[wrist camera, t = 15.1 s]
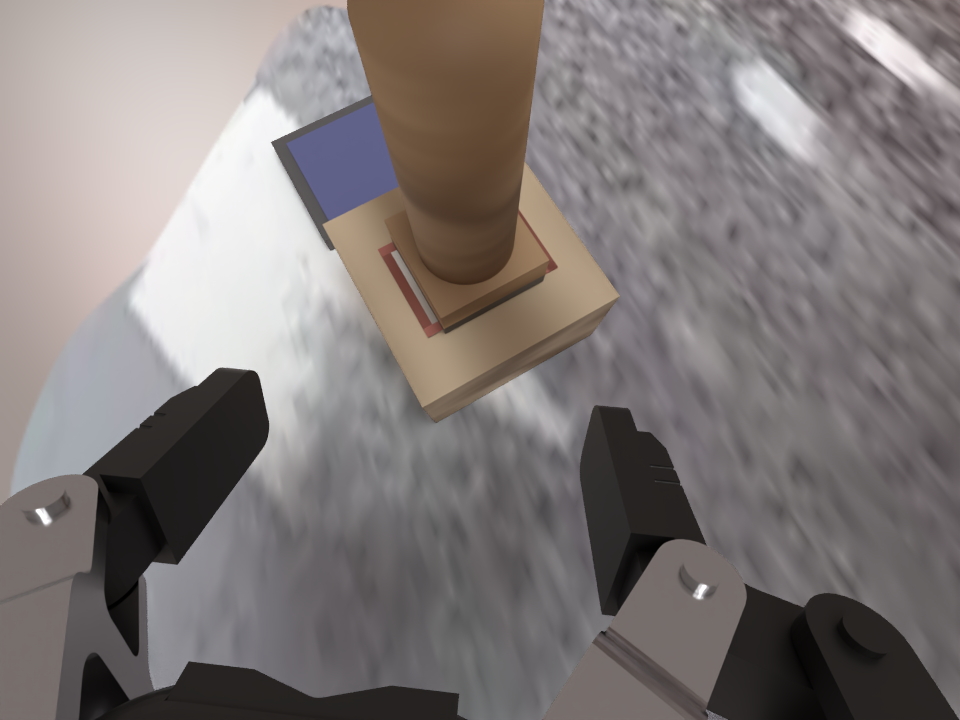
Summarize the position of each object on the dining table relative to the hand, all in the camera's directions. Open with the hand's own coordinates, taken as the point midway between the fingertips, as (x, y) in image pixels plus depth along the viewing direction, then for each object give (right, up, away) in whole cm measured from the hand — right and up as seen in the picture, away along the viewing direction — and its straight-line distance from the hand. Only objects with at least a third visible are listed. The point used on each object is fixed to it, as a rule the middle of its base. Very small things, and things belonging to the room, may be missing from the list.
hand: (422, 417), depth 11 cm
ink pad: (-4, +13, +15) cm, 20 cm away
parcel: (+1, +4, +13) cm, 13 cm away
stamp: (+1, +5, +8) cm, 9 cm away
